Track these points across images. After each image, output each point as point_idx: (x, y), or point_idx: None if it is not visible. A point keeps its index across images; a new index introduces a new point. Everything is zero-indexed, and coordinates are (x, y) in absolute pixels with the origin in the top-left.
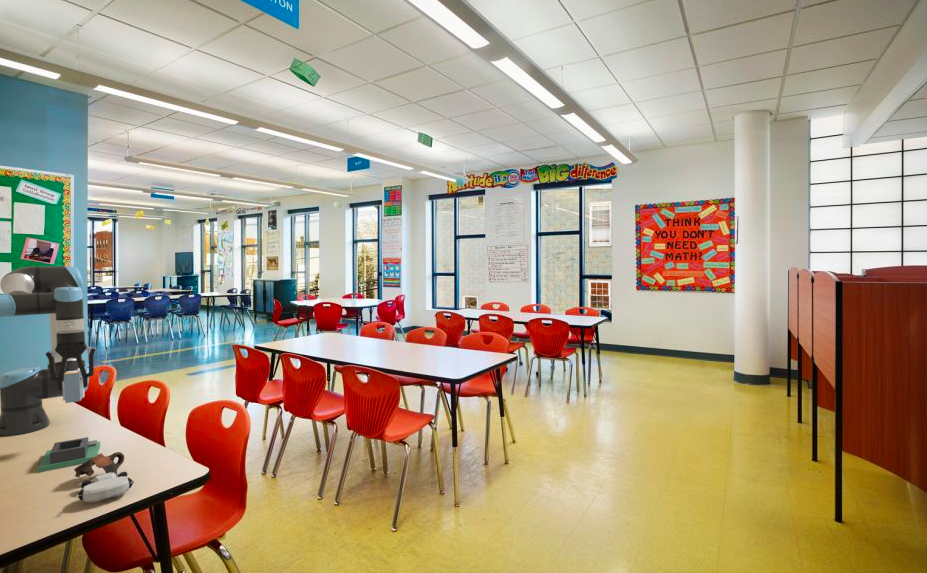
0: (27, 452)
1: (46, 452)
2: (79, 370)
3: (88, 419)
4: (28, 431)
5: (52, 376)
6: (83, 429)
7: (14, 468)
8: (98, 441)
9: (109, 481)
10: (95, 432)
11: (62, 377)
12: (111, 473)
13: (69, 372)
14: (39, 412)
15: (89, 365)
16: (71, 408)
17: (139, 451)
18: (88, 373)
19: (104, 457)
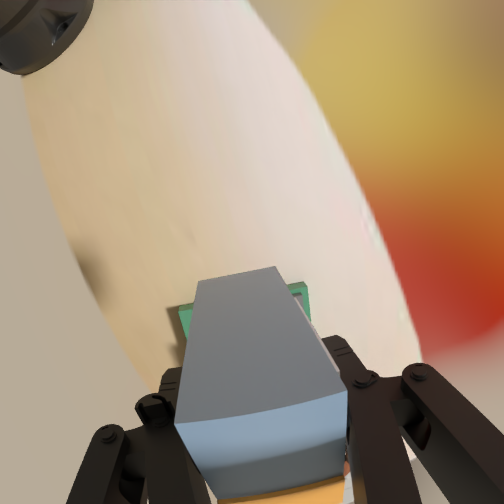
0: (113, 255)
1: (184, 327)
2: (334, 420)
3: None
4: (55, 56)
5: (132, 492)
6: (204, 69)
7: (146, 367)
8: (303, 287)
9: (347, 495)
10: (255, 124)
11: (201, 476)
12: (350, 481)
13: (258, 499)
14: (55, 2)
15: (442, 484)
16: None
17: (388, 358)
18: (398, 426)
19: (346, 473)
